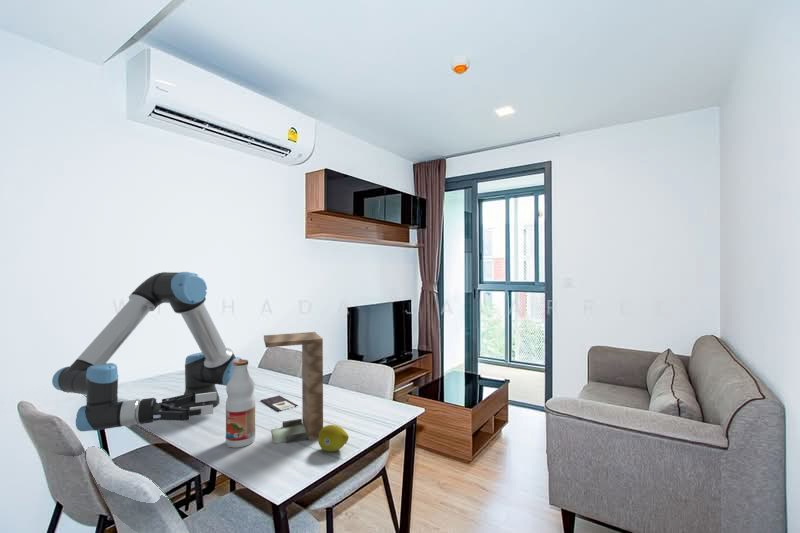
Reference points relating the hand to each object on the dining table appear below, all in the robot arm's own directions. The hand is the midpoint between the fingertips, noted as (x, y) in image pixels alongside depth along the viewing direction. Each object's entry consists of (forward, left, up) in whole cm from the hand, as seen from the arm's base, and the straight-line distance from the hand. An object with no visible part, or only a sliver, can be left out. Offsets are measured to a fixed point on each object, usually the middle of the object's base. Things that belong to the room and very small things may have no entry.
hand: (214, 402), depth 126 cm
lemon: (+40, -8, -15) cm, 43 cm away
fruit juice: (+8, +2, -15) cm, 17 cm away
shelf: (+24, +7, -15) cm, 29 cm away
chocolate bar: (+14, +39, -16) cm, 44 cm away
